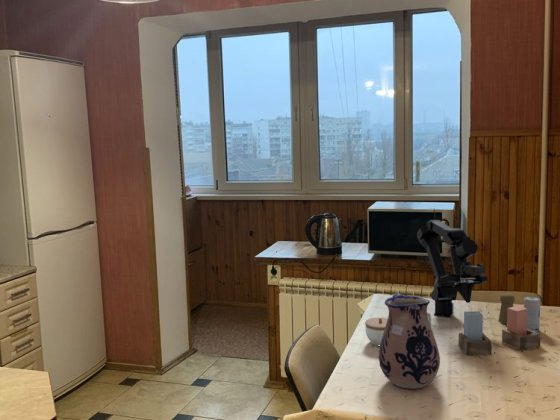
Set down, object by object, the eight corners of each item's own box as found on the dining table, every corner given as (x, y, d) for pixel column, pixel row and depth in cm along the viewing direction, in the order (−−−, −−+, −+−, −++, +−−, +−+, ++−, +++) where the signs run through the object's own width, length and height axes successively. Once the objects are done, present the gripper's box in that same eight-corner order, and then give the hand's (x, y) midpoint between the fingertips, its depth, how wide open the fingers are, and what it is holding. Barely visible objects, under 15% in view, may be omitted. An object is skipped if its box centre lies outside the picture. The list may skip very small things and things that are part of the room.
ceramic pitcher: (396, 400, 153) (396, 313, 149) (364, 370, 173) (363, 293, 169) (451, 390, 157) (452, 306, 154) (414, 362, 177) (413, 287, 174)
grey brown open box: (458, 345, 191) (458, 332, 190) (482, 344, 190) (482, 332, 190) (466, 355, 182) (466, 342, 181) (491, 354, 182) (491, 341, 181)
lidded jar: (359, 343, 196) (358, 317, 195) (378, 335, 203) (378, 311, 201) (382, 351, 188) (382, 324, 187) (402, 343, 195) (402, 317, 193)
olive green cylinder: (517, 324, 210) (518, 296, 208) (501, 324, 210) (502, 296, 208) (511, 319, 216) (512, 291, 214) (496, 319, 216) (496, 292, 214)
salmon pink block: (506, 341, 192) (507, 308, 190) (516, 338, 194) (517, 305, 193) (516, 344, 188) (516, 311, 187) (526, 342, 191) (527, 308, 189)
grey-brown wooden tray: (501, 342, 192) (502, 329, 191) (518, 338, 196) (518, 325, 195) (523, 350, 184) (523, 337, 183) (540, 346, 187) (540, 333, 187)
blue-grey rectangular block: (463, 345, 190) (464, 311, 188) (478, 344, 190) (478, 311, 188) (467, 349, 186) (467, 315, 184) (482, 349, 186) (482, 314, 184)
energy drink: (539, 328, 205) (540, 297, 203) (539, 332, 200) (540, 301, 198) (523, 326, 207) (524, 295, 205) (523, 331, 202) (524, 299, 200)
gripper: (455, 255, 196) (464, 298, 191) (494, 256, 204) (503, 297, 199) (435, 263, 206) (443, 304, 201) (472, 263, 214) (481, 303, 209)
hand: (468, 302), depth 202 cm, fingers closed
